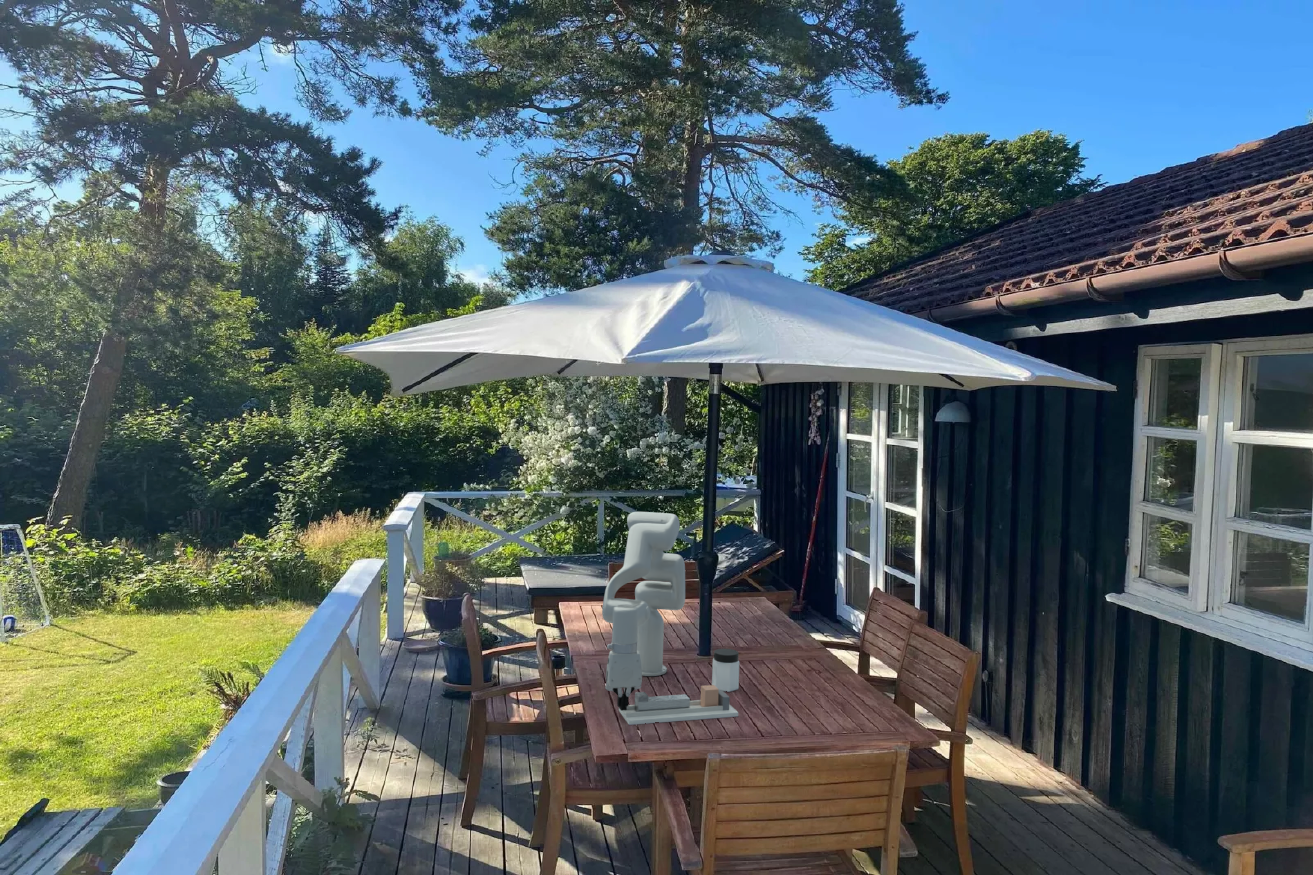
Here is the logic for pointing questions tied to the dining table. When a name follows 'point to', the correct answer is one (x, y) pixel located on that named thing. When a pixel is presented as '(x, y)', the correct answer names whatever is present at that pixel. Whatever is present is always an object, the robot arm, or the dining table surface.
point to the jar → (725, 669)
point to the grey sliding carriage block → (660, 702)
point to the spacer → (709, 696)
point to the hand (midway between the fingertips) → (622, 708)
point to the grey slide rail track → (681, 712)
